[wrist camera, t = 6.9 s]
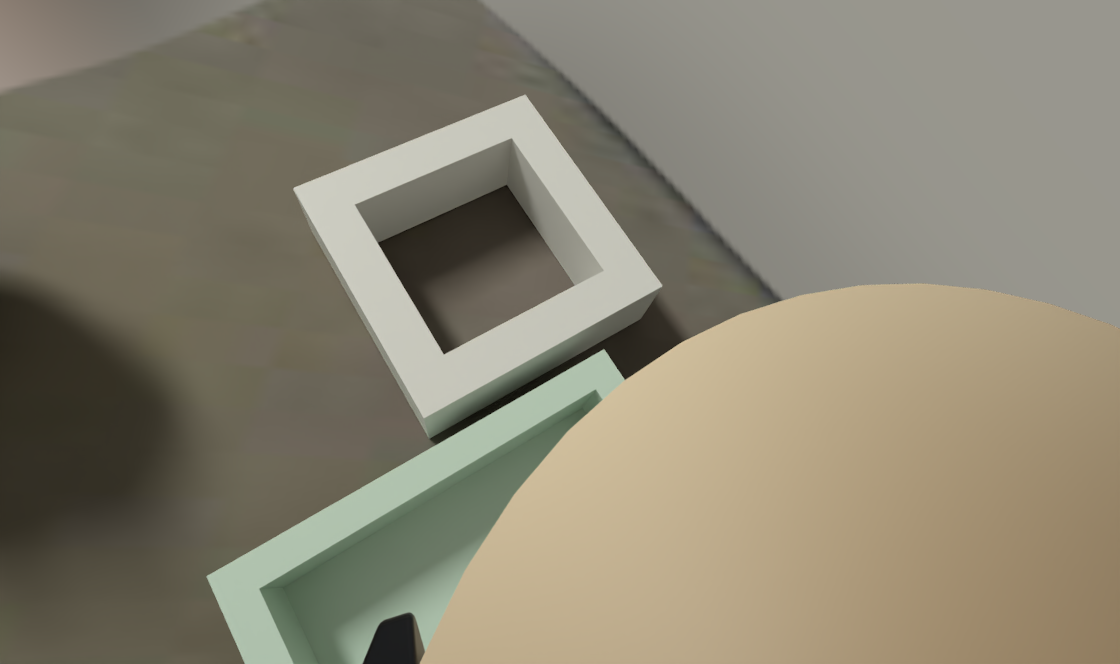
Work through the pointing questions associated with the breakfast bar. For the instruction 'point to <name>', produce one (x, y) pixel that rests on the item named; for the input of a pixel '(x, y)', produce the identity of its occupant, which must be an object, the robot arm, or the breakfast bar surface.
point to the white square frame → (446, 183)
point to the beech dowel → (824, 497)
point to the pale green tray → (398, 534)
